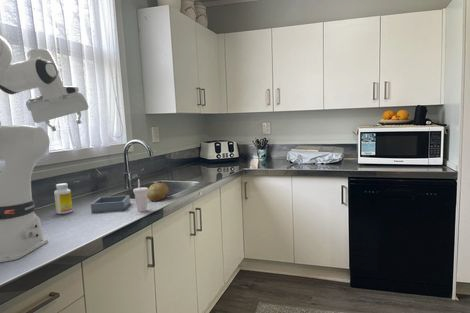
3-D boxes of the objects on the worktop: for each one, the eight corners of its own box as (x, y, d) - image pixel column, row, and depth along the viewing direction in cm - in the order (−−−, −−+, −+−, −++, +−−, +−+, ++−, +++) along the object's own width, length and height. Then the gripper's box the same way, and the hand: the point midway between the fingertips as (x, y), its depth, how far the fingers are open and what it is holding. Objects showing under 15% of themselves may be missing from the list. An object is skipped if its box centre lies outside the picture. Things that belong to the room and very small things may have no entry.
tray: (124, 210, 154) (123, 201, 153) (91, 213, 152) (90, 204, 152) (130, 203, 167) (129, 195, 167) (100, 205, 166) (99, 197, 165)
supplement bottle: (76, 210, 158) (73, 182, 156) (65, 214, 151) (62, 185, 150) (63, 210, 160) (61, 182, 158) (52, 214, 153) (49, 185, 152)
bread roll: (172, 195, 182) (171, 180, 182) (163, 202, 168) (162, 185, 167) (155, 195, 184) (154, 180, 183) (144, 202, 169) (142, 186, 168)
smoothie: (134, 209, 154) (131, 178, 153) (148, 207, 157) (146, 177, 155) (135, 213, 148) (132, 180, 147) (150, 211, 151) (148, 179, 149)
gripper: (23, 100, 126) (38, 136, 130) (81, 86, 134) (94, 120, 138) (24, 99, 131) (38, 134, 136) (80, 86, 140) (92, 119, 144)
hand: (67, 127), depth 137 cm, fingers open, 8 cm apart
